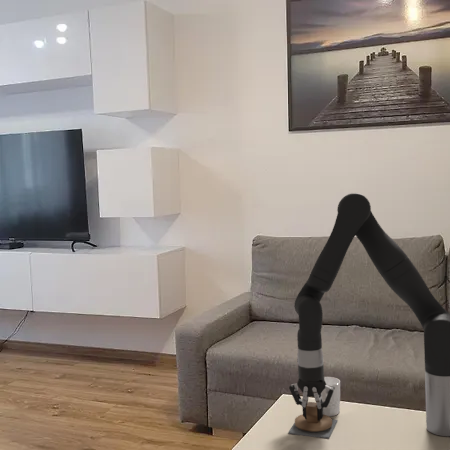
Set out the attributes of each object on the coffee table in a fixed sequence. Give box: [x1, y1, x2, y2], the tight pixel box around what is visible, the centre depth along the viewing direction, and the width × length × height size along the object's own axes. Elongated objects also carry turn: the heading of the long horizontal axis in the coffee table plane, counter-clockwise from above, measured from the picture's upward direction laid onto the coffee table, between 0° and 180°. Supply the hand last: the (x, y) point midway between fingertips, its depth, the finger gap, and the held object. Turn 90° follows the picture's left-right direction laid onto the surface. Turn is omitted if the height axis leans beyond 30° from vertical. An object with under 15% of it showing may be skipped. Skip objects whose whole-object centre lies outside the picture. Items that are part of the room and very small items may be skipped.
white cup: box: [321, 376, 341, 417], centre depth 183 cm, size 8×8×10 cm
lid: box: [294, 401, 332, 432], centre depth 173 cm, size 11×11×6 cm
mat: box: [287, 418, 339, 439], centre depth 173 cm, size 12×12×1 cm
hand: (313, 418), depth 173 cm, fingers closed on lid, 3 cm apart
